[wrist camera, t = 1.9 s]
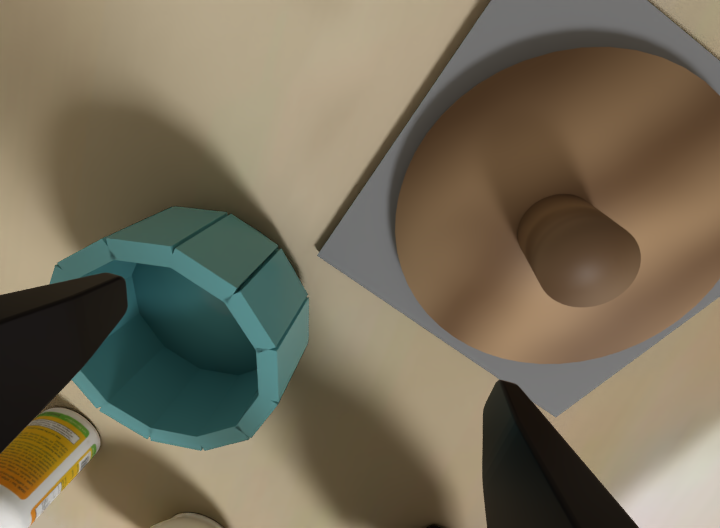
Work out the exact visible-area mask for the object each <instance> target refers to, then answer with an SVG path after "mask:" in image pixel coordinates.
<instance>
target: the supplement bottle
mask: <svg viewBox="0 0 720 528" xmlns="http://www.w3.org/2000/svg"><path fill="white" fill-rule="evenodd" d="M99 448H100V437H99V434H98V432H97V431H96V429H95V428H94V426H93V425H92V424H91V423H90V422H89V421H88V420H87V419H85V418H84V417H83V416H81V415H80V414H78V413H76V412H75V411H72V410H70V409H66V408H50V409H47V410H45V411H44V412H42V413H41V414H40V415H39V416H37V417H36V418H35V419H34V420H32V421H31V422H30V423H29V424H28V426H27V427H26V428H25V429H24V430H23V431H22V432H21V433H20V434H19V435H18V436H17V437H16V438H15V439H14V440H13V441H12V442H11V443H10V444H9V445H8V446H7V447H6V448H5V450H4V451H3V452H2V453H1V454H0V528H28V527H29V526H30V525H31V524H32V523H33V522H34V521H35V520H36V519H37V517H38V516H39V515H40V514H41V513H42V512H43V511H44V510H45V509H46V508H47V507H48V505H49V504H50V503H51V502H52V501H53V500H54V499H55V498H56V497H57V496H58V494H59V493H60V492H61V491H62V490H63V489H64V488H65V487H66V486H67V485H68V484H69V483H70V482H71V480H72V479H73V478H74V477H75V476H76V475H77V474H78V473H79V472H80V471H81V470H82V469H83V467H84V466H85V465H86V464H87V463H88V462H89V461H90V460H91V459H92V458H93V456H94V455H95V454H96V453H97V452H98V450H99Z"/></svg>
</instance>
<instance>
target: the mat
mask: <svg viewBox="0 0 720 528" xmlns="http://www.w3.org/2000/svg"><path fill="white" fill-rule="evenodd" d="M581 47H614V48H623V49H631V50H637V51H641V52H645V53H648V54H652V55H656V56H659V57H662V58H665V59H667V60H669V61H671V62H673V63H676V64H678V65H680V66H682V67H684V68H686V69H687V70H689V71H690V72H692V73H693V74H695V75H696V76H698V77H699V78H701V79H702V80H704V81H705V82H706V83H707V84H708V85H709V86H710V87H711V88H712V89H713V90H714V91H716V92H717V93H718V94H719V95H720V61H719V60H718V59H717V58H716V57H715V56H713V55H712V54H711V53H710V52H709V51H707V50H706V49H705V48H704V47H703V46H701V45H700V44H699V43H698V42H697V41H695V40H694V39H693V38H692V37H691V36H689V35H688V34H687V33H686V32H685V31H683V30H682V29H681V28H680V27H679V26H677V25H676V24H675V23H674V22H673V21H671V20H670V19H669V18H668V17H667V16H665V15H664V14H663V13H662V12H661V11H659V10H658V9H657V8H656V7H655V6H653V5H652V4H651V3H650V2H649V1H647V0H491V1H490V3H489V4H488V6H487V7H486V8H485V10H484V11H483V13H482V14H481V16H480V17H479V19H478V20H477V22H476V23H475V25H474V26H473V28H472V29H471V31H470V32H469V33H468V35H467V36H466V38H465V39H464V41H463V42H462V44H461V45H460V47H459V48H458V50H457V51H456V53H455V54H454V55H453V57H452V58H451V60H450V61H449V63H448V64H447V66H446V67H445V69H444V70H443V72H442V73H441V75H440V76H439V77H438V79H437V80H436V82H435V83H434V85H433V86H432V88H431V89H430V91H429V92H428V94H427V95H426V97H425V98H424V99H423V101H422V102H421V104H420V105H419V107H418V108H417V110H416V111H415V113H414V114H413V116H412V117H411V119H410V120H409V121H408V123H407V124H406V126H405V127H404V129H403V130H402V132H401V133H400V135H399V136H398V138H397V139H396V141H395V142H394V144H393V145H392V146H391V148H390V149H389V151H388V152H387V154H386V155H385V157H384V158H383V160H382V161H381V163H380V164H379V166H378V167H377V168H376V170H375V171H374V173H373V174H372V176H371V177H370V179H369V180H368V182H367V183H366V185H365V186H364V188H363V189H362V190H361V192H360V193H359V195H358V196H357V198H356V199H355V201H354V202H353V204H352V205H351V207H350V208H349V210H348V211H347V212H346V214H345V215H344V217H343V218H342V220H341V221H340V223H339V224H338V226H337V227H336V229H335V230H334V232H333V233H332V234H331V236H330V237H329V239H328V240H327V242H326V243H325V245H324V246H323V248H322V249H321V251H320V252H319V254H318V255H317V256H319V257H320V258H322V259H323V260H324V261H326V262H327V263H329V264H330V265H332V266H333V267H335V268H336V269H338V270H339V271H341V272H342V273H344V274H345V275H347V276H348V277H350V278H351V279H352V280H354V281H355V282H357V283H358V284H360V285H361V286H363V287H364V288H366V289H367V290H369V291H370V292H372V293H373V294H375V295H376V296H378V297H379V298H380V299H382V300H383V301H385V302H386V303H388V304H389V305H391V306H392V307H394V308H395V309H397V310H398V311H400V312H401V313H403V314H404V315H406V316H407V317H409V318H410V319H411V320H413V321H414V322H416V323H417V324H419V325H420V326H422V327H423V328H425V329H426V330H428V331H429V332H431V333H432V334H434V335H435V336H437V337H438V338H439V339H441V340H442V341H444V342H445V343H447V344H448V345H450V346H451V347H453V348H454V349H456V350H457V351H459V352H460V353H462V354H463V355H465V356H466V357H468V358H469V359H470V360H472V361H473V362H475V363H476V364H478V365H479V366H481V367H482V368H484V369H485V370H487V371H488V372H490V373H491V374H493V375H494V376H496V377H497V378H498V379H500V380H504V381H508V382H512V383H515V384H517V385H518V386H519V387H520V388H521V389H522V390H523V391H524V393H525V394H526V395H527V396H528V397H529V399H530V400H531V401H532V402H534V403H535V404H537V405H538V406H540V407H541V408H543V409H544V410H546V411H547V412H549V413H550V414H552V415H553V416H555V417H557V416H558V415H560V414H561V413H562V412H564V411H565V410H566V409H568V408H569V407H571V406H572V405H573V404H575V403H576V402H577V401H579V400H580V399H581V398H583V397H584V396H585V395H587V394H588V393H590V392H591V391H592V390H594V389H595V388H596V387H598V386H599V385H600V384H602V383H603V382H604V381H606V380H607V379H609V378H610V377H611V376H613V375H614V374H615V373H617V372H618V371H619V370H621V369H622V368H623V367H625V366H626V365H627V364H629V363H630V362H632V361H633V360H634V359H636V358H637V357H638V356H640V355H641V354H642V353H644V352H645V351H646V350H648V349H649V348H651V347H652V346H653V345H655V344H656V343H657V342H659V341H660V340H661V339H663V338H664V337H665V336H667V335H668V334H670V333H671V332H672V331H674V330H675V329H676V328H678V327H679V326H680V325H682V324H683V323H684V322H686V321H687V320H689V319H690V318H691V317H693V316H694V315H695V314H697V313H698V312H699V311H701V310H702V309H703V308H705V307H706V306H708V305H709V304H710V303H712V302H713V301H714V300H716V299H717V298H718V297H720V279H719V280H718V281H717V283H716V284H715V285H714V287H713V288H712V289H711V290H710V291H709V292H708V294H707V295H706V296H705V297H704V298H703V299H702V300H701V301H700V302H699V303H698V304H697V305H696V306H695V307H694V308H692V309H691V310H690V311H689V312H688V313H687V314H685V315H684V316H683V317H682V318H681V319H679V320H678V321H677V322H675V323H674V324H672V325H671V326H669V327H668V328H666V329H665V330H663V331H662V332H660V333H658V334H657V335H655V336H653V337H651V338H649V339H647V340H645V341H644V342H642V343H640V344H637V345H635V346H632V347H630V348H628V349H625V350H623V351H620V352H617V353H614V354H610V355H607V356H604V357H601V358H596V359H591V360H586V361H581V362H573V363H563V364H535V363H525V362H518V361H513V360H508V359H503V358H500V357H496V356H493V355H490V354H487V353H484V352H482V351H480V350H477V349H475V348H473V347H471V346H468V345H467V344H465V343H463V342H462V341H460V340H458V339H457V338H455V337H453V336H452V335H451V334H449V333H448V332H447V331H445V330H444V329H443V328H442V327H440V326H439V325H438V324H437V323H436V322H435V321H434V320H433V319H432V318H431V317H430V316H429V315H428V314H427V313H426V312H425V310H424V309H423V308H422V306H421V305H420V304H419V302H418V301H417V300H416V298H415V296H414V295H413V293H412V291H411V289H410V288H409V286H408V284H407V281H406V279H405V276H404V274H403V271H402V269H401V265H400V261H399V257H398V253H397V246H396V237H395V221H396V209H397V203H398V197H399V193H400V190H401V186H402V183H403V180H404V177H405V174H406V171H407V169H408V166H409V164H410V162H411V160H412V158H413V156H414V153H415V151H416V150H417V148H418V147H419V145H420V143H421V142H422V140H423V139H424V137H425V135H426V134H427V132H428V131H429V130H430V129H431V127H432V126H433V125H434V124H435V123H436V121H437V120H438V119H439V118H440V116H441V115H442V114H443V113H444V112H445V111H446V110H447V109H448V108H449V107H450V106H452V105H453V104H454V103H455V102H456V101H457V100H458V99H459V98H460V97H461V96H463V95H464V94H465V93H467V92H468V91H469V90H471V89H472V88H473V87H475V86H476V85H477V84H479V83H480V82H482V81H484V80H486V79H487V78H489V77H491V76H492V75H494V74H496V73H498V72H499V71H501V70H504V69H506V68H508V67H511V66H513V65H515V64H517V63H520V62H522V61H525V60H528V59H531V58H535V57H538V56H542V55H545V54H548V53H552V52H556V51H562V50H569V49H575V48H581Z"/></svg>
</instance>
